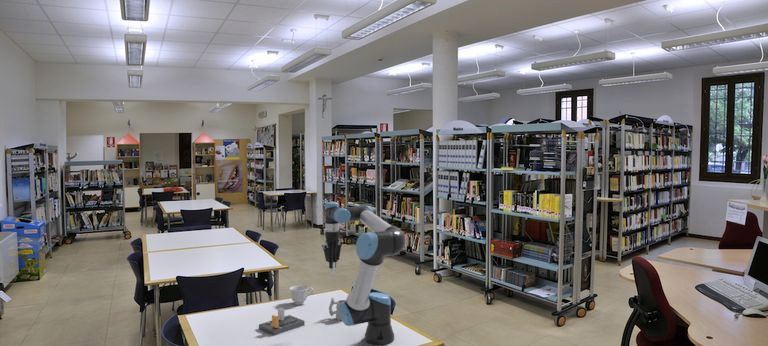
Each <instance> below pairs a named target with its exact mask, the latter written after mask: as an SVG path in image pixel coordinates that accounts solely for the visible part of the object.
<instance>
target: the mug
mask: <svg viewBox="0 0 768 346" xmlns="http://www.w3.org/2000/svg"><path fill="white" fill-rule="evenodd" d="M342 302H346V299H339V300H337V301H335V299H334V297H331V301H330V304H329V306H328V311H329V312H328V313H329V315H330V316H331V317H333V316H334V315H335V318H336V320H337V321H340V322H341V321H342V319H341V316H340V310H339V306H340V303H342ZM334 305H336V307H335V309H336V310H335V311H334V310H333V306H334Z"/></svg>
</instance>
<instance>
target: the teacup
mask: <svg viewBox="0 0 768 346" xmlns="http://www.w3.org/2000/svg"><path fill="white" fill-rule="evenodd" d="M289 290H290V296H291V300H292V302H294V304H295V305H297V306H301V305H304V303H305V302H306V301H307V298H308V297H309V296H312V294H314V288H313V287H309V286H308V285H306V284H305V285H303V284H302V285H301V284H298V285H292V286H290V287H289ZM310 290H311V292H310ZM308 292H310V293H308Z"/></svg>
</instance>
